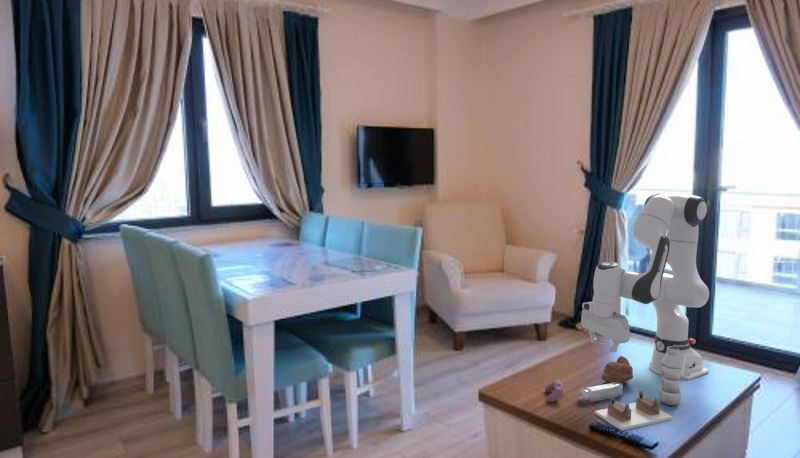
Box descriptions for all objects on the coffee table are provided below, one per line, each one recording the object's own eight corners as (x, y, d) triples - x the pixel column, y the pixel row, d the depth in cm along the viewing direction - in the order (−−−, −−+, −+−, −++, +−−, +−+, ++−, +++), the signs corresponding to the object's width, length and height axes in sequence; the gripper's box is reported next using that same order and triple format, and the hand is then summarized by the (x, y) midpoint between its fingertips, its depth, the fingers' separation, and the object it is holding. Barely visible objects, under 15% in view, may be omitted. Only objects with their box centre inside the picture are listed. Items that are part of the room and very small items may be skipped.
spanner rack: (643, 403, 184) (644, 385, 183) (672, 419, 173) (673, 400, 172) (594, 413, 176) (595, 395, 176) (621, 430, 165) (622, 410, 164)
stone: (621, 376, 207) (622, 352, 206) (640, 384, 200) (641, 359, 198) (599, 383, 201) (600, 358, 199) (618, 391, 193) (620, 365, 192)
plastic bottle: (679, 409, 179) (683, 352, 177) (657, 404, 183) (661, 349, 180) (681, 402, 185) (685, 347, 182) (659, 397, 188) (663, 343, 186)
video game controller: (557, 407, 184) (567, 391, 183) (545, 401, 185) (555, 384, 183) (554, 395, 194) (564, 380, 192) (543, 389, 194) (553, 373, 193)
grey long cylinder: (617, 392, 193) (617, 381, 193) (624, 396, 190) (624, 385, 189) (577, 399, 187) (578, 388, 186) (584, 403, 184) (584, 392, 183)
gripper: (635, 316, 176) (633, 356, 177) (593, 301, 195) (591, 337, 196) (620, 317, 174) (618, 358, 175) (579, 302, 193) (577, 339, 194)
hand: (603, 347), depth 186 cm, fingers open, 8 cm apart
